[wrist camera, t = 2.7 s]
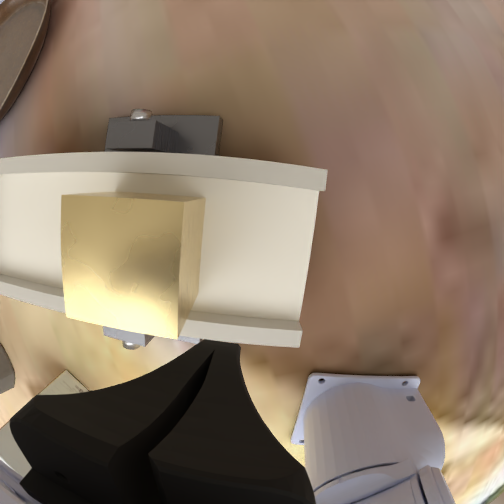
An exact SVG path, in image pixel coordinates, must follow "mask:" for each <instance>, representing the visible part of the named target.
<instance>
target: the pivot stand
mask: <svg viewBox="0 0 504 504" xmlns="http://www.w3.org/2000/svg"><path fill="white" fill-rule="evenodd" d="M151 115H152V111H150V110H146V109H134V110H132V111H131V117H119V118H109V124H108V131H107V137H106V145H105V152H160V153H182V154H199V155H212V156H218V154H219V146H220V138H221V130H222V123H223V119H222V118H221V117H220V116H205V115H159V116H151ZM103 332H104V335H105V336H108V337H112V338H115V339H119V340H122V343H123V347H125V348H126V349H137V348H139V347H140V345H141V346H144V347H145V346H146V345H147V344H148V343H149V342H150V341H151V339H152V338H153V337H154V335H148V334H142V333H137V332H132V331H127V330H121V329H117V328H112V327H107V326H103ZM171 339H172V338H171ZM175 340H180V341H185V342H190V343H195V344H198V343H199V342H201V341H202V339H200V338H192V337H185V336H179V337H178V339H175Z"/></svg>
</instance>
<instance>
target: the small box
mask: <svg viewBox="0 0 504 504" xmlns="http://www.w3.org/2000/svg"><path fill="white" fill-rule="evenodd" d="M82 392H89V391H88V390H87V389H86V388H85V387H84V386H83V385H82V384H81V383H80V382H79V381H77V380H76V379H75V378H74V377H73V376H72V375H71V374H70V373H69V372H68V371H67V370H65V371H63V372H62V373H61V374H60V375H59V376H58V377H57V378H55V379H54V380H53V381H52V382H51V383H50V384H49V385H48V386H47V387H46V388H45V389H43V390H42V391H41V392H40V393H39V394H38V395H58V394H74V393H82ZM9 422H10V420H9V421H8V422H7V423H6V424H5V425H4V426H3V427H2V428H1V429H0V460H1V461H3V462H4V463H5V464H6V465H8V466H9V467H10V468H11V469H13V470H14V471H15V472H17V473H18V474H19V475H21V476H22V477H25V476H26V474H27V473H28V472H29V471H30V470H31V468H32V467H31V466H30V464H29V463H28V461H27V460H26V458H25V456H24V455H23V453H22V452H21V450H20V448H19V447H18V445H17V443H16V442H15V440H14V438H13V436H12V434H11V430H10V425H9Z"/></svg>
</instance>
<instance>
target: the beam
mask: <svg viewBox="0 0 504 504" xmlns="http://www.w3.org/2000/svg"><path fill="white" fill-rule="evenodd" d="M327 171H328V170H325V169H319V168H313V167H307V166H300V165H293V164H286V163H279V162H271V161H263V160H254V159H245V158H235V157H224V156H212V155H199V154H182V153H160V152H76V153H56V154H41V155H28V156H18V157H9V158H0V295H3V296H6V297H10V298H13V299H16V300H19V301H23V302H26V303H29V304H33V305H36V306H40V307H43V308H47V309H51V310H55V311H58V312H62V313H66V310H65V301H64V292H63V280H62V265H61V195H65V194H78V193H94V192H113V191H117V192H135V193H151V194H165V195H178V196H190V197H202V198H206V202H205V213H204V224H203V235H202V247H201V261H200V275H199V291H198V296H197V298H196V300H195V302H194V304H193V307H192V309H191V311H190V313H189V315H188V317H187V320H186V322H185V324H184V326H183V328H182V331H181V333H180V335H179V336H185V337H192V338H200V339H207V340H216V341H224V342H234V343H244V344H255V345H267V346H281V347H297V348H299V346H300V341H301V336H302V328H301V325H300V323H299V318H300V313H301V307H302V302H303V296H304V290H305V284H306V278H307V272H308V266H309V260H310V253H311V247H312V240H313V233H314V226H315V219H316V211H317V203H318V196H319V191H325V188H326V180H327Z"/></svg>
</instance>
